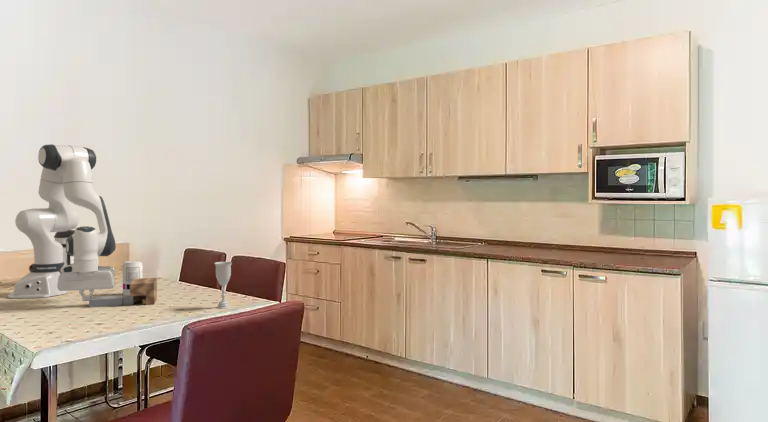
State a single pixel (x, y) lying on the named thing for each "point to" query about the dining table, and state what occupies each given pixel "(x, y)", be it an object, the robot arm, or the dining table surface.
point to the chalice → (223, 280)
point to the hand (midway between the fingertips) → (86, 300)
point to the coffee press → (61, 239)
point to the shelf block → (144, 290)
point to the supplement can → (131, 274)
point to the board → (111, 300)
